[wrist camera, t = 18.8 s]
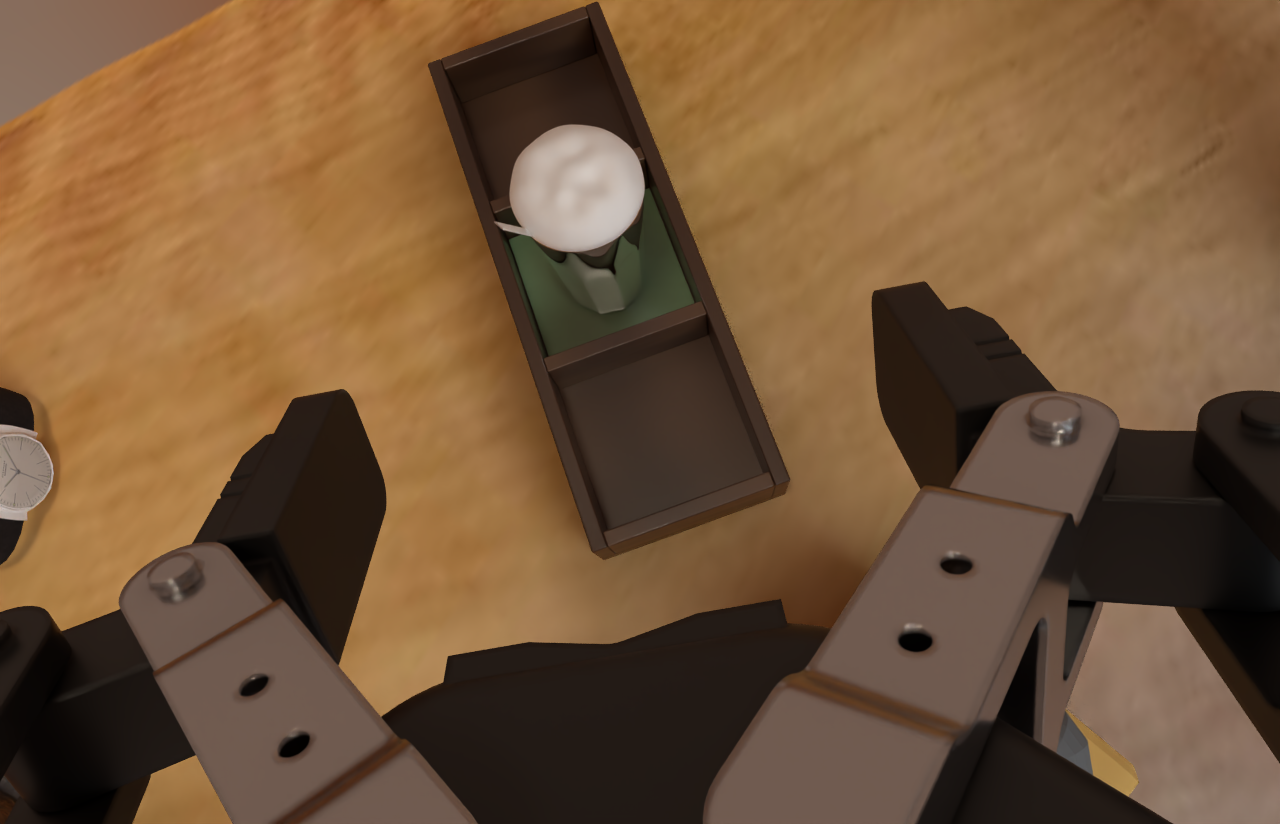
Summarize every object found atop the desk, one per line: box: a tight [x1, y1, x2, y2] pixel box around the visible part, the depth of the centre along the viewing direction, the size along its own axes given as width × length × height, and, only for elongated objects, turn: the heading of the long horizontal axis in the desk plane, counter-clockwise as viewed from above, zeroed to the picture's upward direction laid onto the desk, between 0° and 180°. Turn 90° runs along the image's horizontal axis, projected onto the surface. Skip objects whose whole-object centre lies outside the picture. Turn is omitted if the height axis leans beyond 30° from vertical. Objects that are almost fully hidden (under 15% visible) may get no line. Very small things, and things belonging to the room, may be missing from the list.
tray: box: [428, 2, 790, 560], centre depth 39 cm, size 8×22×3 cm, turn 20°
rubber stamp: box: [1056, 710, 1139, 796], centre depth 29 cm, size 10×6×12 cm, turn 49°
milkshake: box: [494, 125, 645, 314], centre depth 35 cm, size 4×5×10 cm
